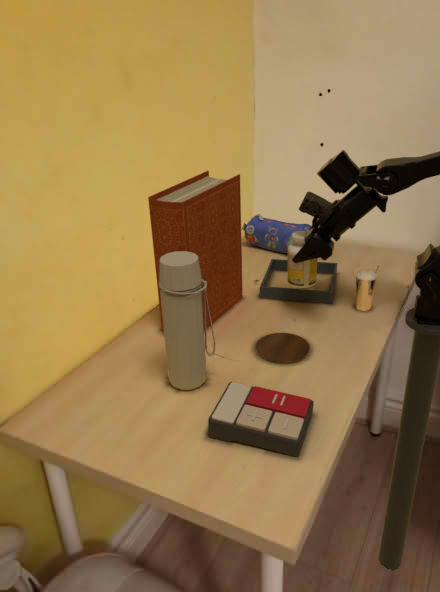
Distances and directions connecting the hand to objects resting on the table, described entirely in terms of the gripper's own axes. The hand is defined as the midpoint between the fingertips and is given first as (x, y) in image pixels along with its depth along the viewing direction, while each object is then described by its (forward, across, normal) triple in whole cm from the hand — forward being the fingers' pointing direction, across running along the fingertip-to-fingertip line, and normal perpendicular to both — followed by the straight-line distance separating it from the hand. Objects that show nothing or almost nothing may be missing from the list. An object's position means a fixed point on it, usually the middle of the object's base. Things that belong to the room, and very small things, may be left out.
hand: (296, 255), depth 119 cm
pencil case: (+17, -34, +2) cm, 38 cm away
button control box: (+8, +42, +11) cm, 44 cm away
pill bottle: (+4, 0, +6) cm, 7 cm away
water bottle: (+19, +32, 0) cm, 38 cm away
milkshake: (-1, -4, +20) cm, 21 cm away
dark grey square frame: (+10, -12, +9) cm, 18 cm away
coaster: (+9, +18, +10) cm, 22 cm away
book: (+23, +8, -5) cm, 25 cm away
